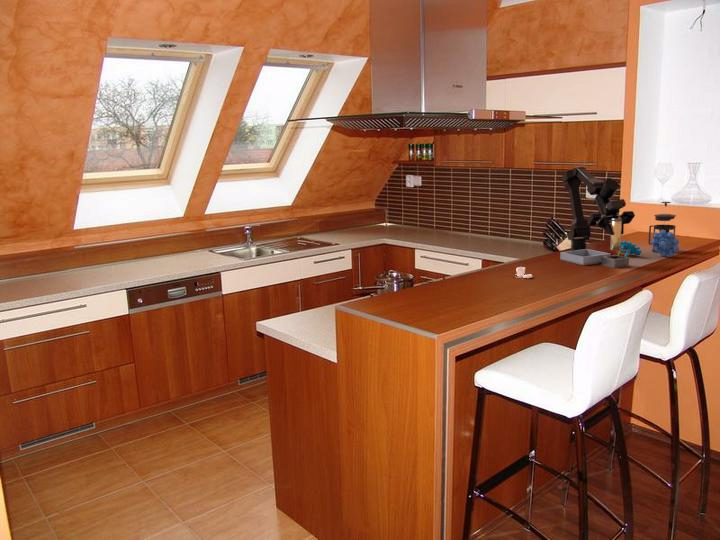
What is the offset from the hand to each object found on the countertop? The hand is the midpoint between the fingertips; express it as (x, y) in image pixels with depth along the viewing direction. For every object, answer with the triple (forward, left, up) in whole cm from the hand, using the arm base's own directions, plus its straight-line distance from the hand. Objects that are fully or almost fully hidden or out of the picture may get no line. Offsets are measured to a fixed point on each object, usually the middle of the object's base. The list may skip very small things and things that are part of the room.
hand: (617, 234), depth 252 cm
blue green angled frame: (-13, +20, -14) cm, 27 cm away
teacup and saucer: (-2, -47, -14) cm, 49 cm away
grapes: (-4, +30, -14) cm, 33 cm away
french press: (-14, +40, -14) cm, 45 cm away
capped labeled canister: (-1, 0, -7) cm, 7 cm away
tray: (-16, -3, -13) cm, 21 cm away
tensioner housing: (-1, 0, -13) cm, 13 cm away
